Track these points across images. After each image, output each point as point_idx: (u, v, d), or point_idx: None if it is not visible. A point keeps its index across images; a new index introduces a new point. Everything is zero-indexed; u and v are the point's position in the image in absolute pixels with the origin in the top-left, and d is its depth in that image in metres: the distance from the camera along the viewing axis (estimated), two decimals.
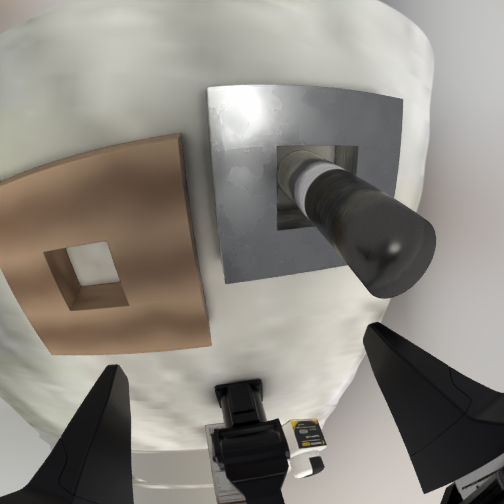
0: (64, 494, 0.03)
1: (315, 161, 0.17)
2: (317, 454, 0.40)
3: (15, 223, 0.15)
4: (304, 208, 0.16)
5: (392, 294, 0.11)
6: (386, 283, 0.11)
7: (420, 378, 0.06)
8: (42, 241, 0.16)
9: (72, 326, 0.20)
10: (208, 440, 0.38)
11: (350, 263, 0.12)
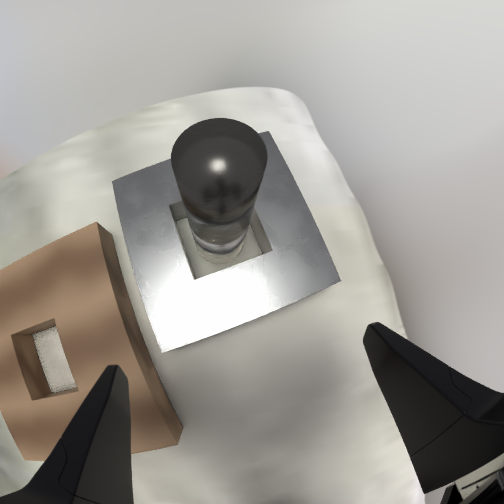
0: (64, 494, 0.03)
1: None
2: None
3: None
4: (192, 231, 0.17)
5: (232, 190, 0.10)
6: (211, 178, 0.10)
7: (420, 378, 0.06)
8: (10, 324, 0.16)
9: (35, 420, 0.14)
10: None
11: (183, 195, 0.12)
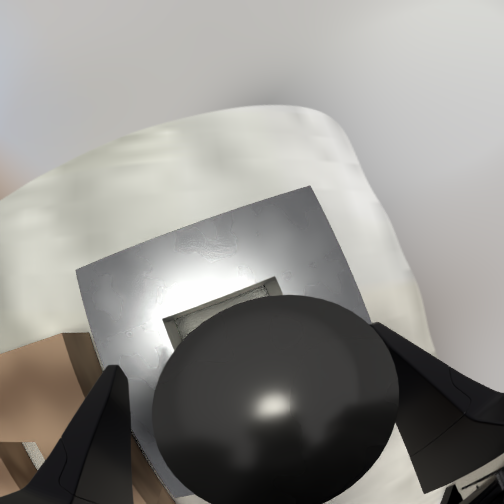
0: (64, 495, 0.03)
1: None
2: None
3: None
4: None
5: (318, 498, 0.03)
6: (270, 485, 0.03)
7: (420, 378, 0.06)
8: None
9: None
10: None
11: None
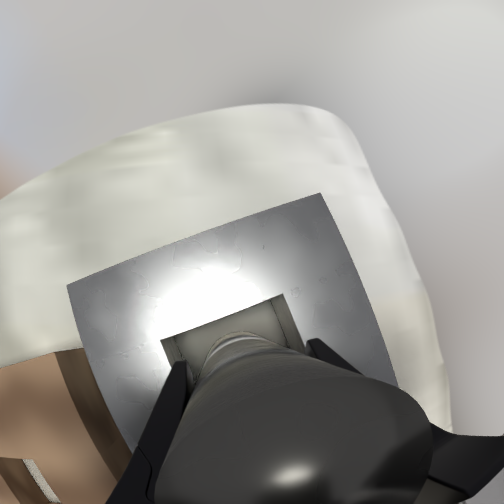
0: None
1: (220, 343, 0.11)
2: None
3: None
4: None
5: None
6: None
7: None
8: None
9: None
10: None
11: None
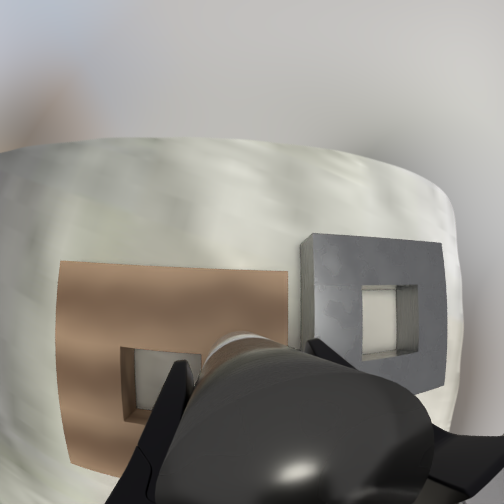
0: None
1: (221, 342, 0.11)
2: None
3: (99, 306, 0.18)
4: None
5: None
6: None
7: None
8: (124, 335, 0.17)
9: (117, 439, 0.15)
10: None
11: None
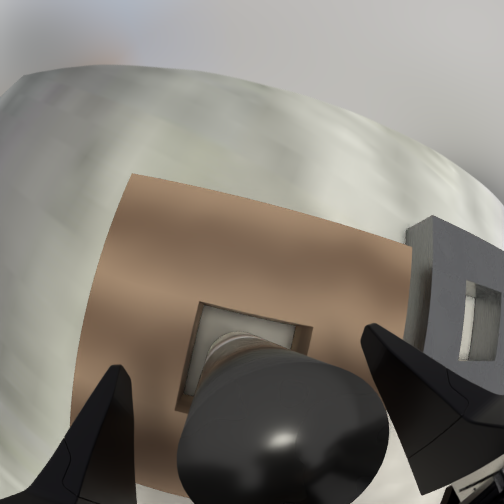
0: (68, 496, 0.03)
1: (220, 341, 0.13)
2: None
3: (179, 240, 0.14)
4: None
5: None
6: None
7: (417, 379, 0.06)
8: (209, 286, 0.14)
9: (155, 434, 0.11)
10: None
11: None
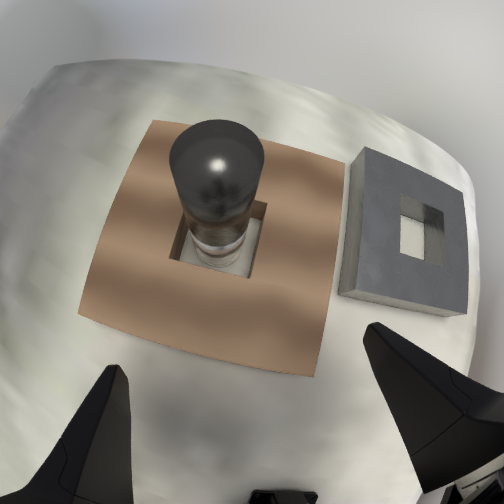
0: (64, 494, 0.03)
1: None
2: None
3: None
4: (191, 233, 0.17)
5: (229, 189, 0.10)
6: (209, 178, 0.11)
7: (420, 378, 0.06)
8: None
9: (152, 279, 0.19)
10: None
11: (181, 195, 0.12)
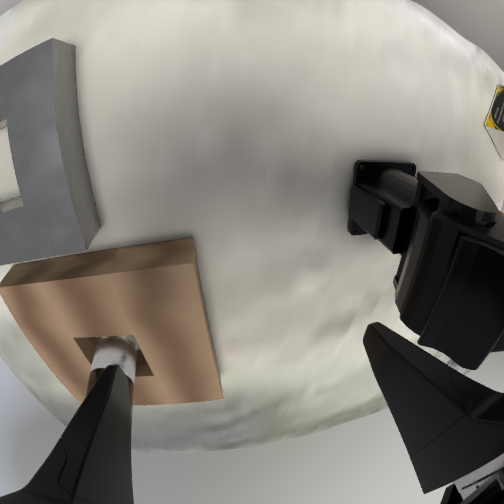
0: (64, 494, 0.03)
1: None
2: None
3: (85, 386, 0.23)
4: None
5: None
6: None
7: (420, 378, 0.06)
8: None
9: (174, 378, 0.24)
10: None
11: None
